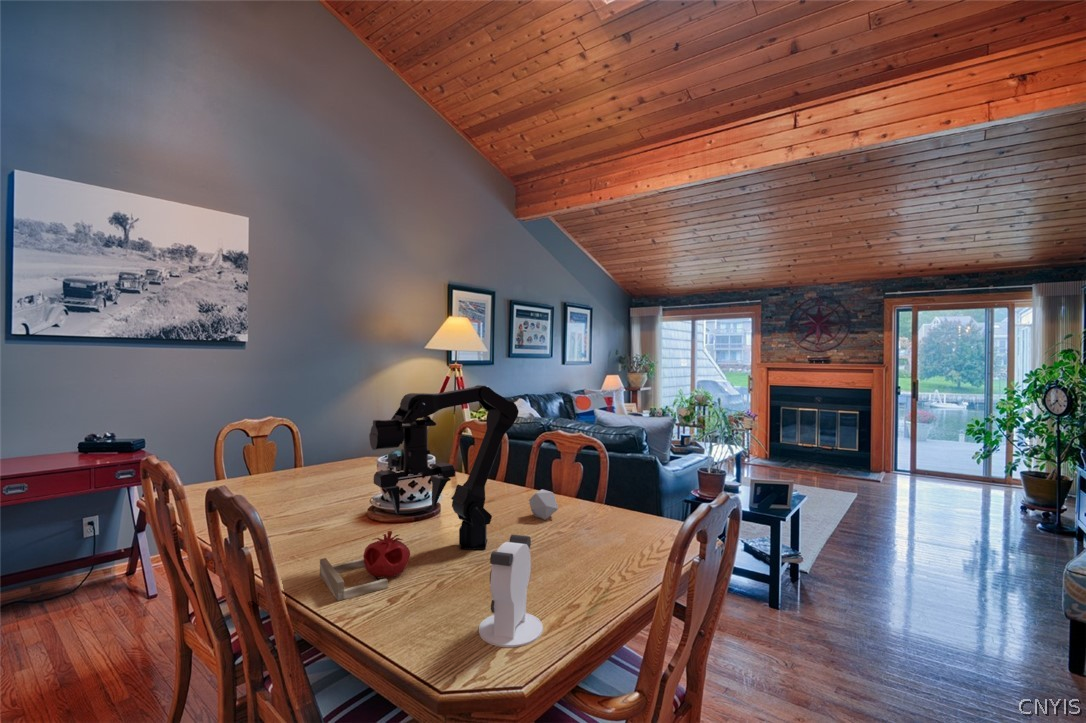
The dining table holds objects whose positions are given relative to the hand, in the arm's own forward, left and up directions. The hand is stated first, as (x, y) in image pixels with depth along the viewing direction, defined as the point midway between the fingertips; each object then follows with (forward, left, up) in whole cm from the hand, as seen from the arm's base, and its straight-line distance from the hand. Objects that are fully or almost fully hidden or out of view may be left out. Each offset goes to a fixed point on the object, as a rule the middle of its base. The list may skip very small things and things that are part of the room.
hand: (415, 509), depth 119 cm
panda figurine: (-24, +32, -12) cm, 42 cm away
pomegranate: (+5, +8, -12) cm, 15 cm away
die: (-32, -33, -12) cm, 48 cm away
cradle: (+11, +12, -12) cm, 20 cm away
